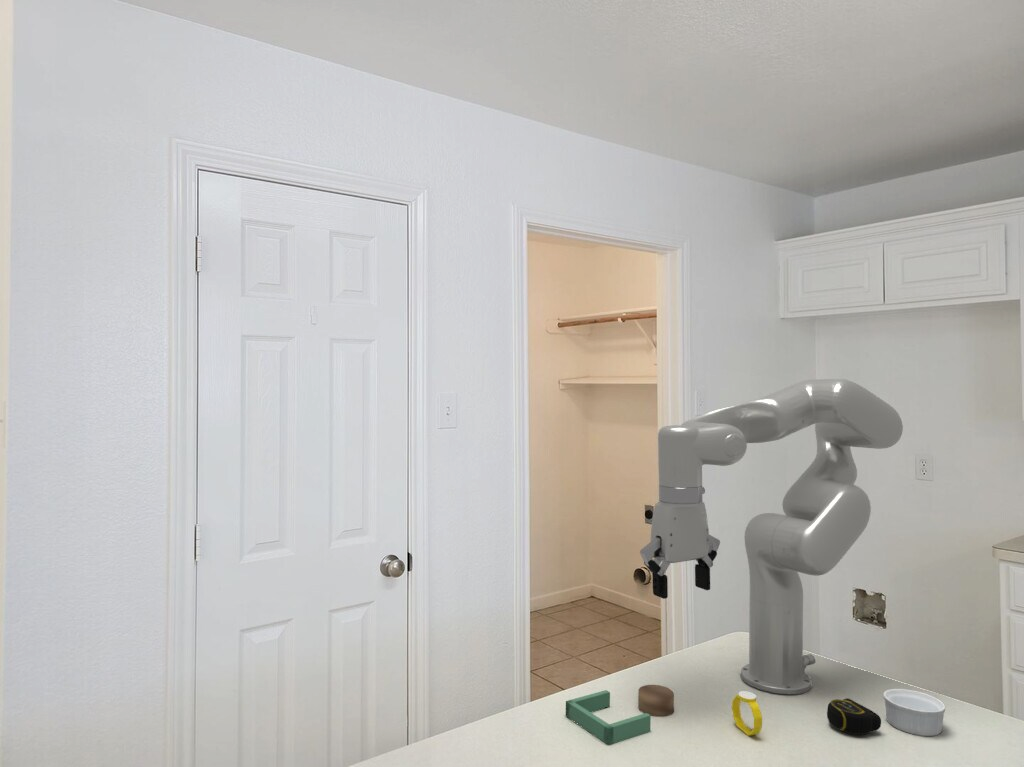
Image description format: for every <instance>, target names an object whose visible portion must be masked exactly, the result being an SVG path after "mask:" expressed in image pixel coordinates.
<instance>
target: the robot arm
mask: <svg viewBox="0 0 1024 767" xmlns="http://www.w3.org/2000/svg"><path fill="white" fill-rule="evenodd" d="M812 425H814V432H815V438H816V455H815V459H813V461H812V462H811V464H810V465H809V466H808V467H807V468H806V470H805V471H804V472H803V473H802V474H801V475H800V476H799V477H798V478H797V480H796V481H795V482H794V483H793V484H792V485H791V486H790V487H789V488H788V490H787V491H786V493H785V495H784V497H783V498H782V505H781V506H782V510H783V513H784V514H780V513H774V512H771V513H770V512H767V513H766V512H764V513H760V514H758V515H755V516H753V517H752V518H751V519H750V520H749V522H748V523H747V525H746V527H745V531H744V548H745V553H746V556H747V563H748V570H749V572H748V573H749V618H748V620H749V628H748V629H749V633H748V635H749V637H748V638H749V639H748V641H749V642H748V644H749V645H748V648H749V649H748V651H749V653H748V663H747V664H745V665H743V666H742V667H741V668H740V678H741V679H742V681H743V682H744V683H746V684H747V685H749V686H751V687H753V688H755V689H758V690H761V691H763V692H764V691H765V692H767V693H772V694H773V693H774V694H778V695H780V694H781V695H798V694H799V695H800V694H803V693H806V692H808V691H809V690H811V689H812V679H811V677H810V676H809V674H807V673H805V669H806V668H807V667H809V666H811V665H814V664H815V663H816V657H815V656H814V655H813V653H807V654H803V650H804V649H803V648H804V647H803V646H804V643H803V639H804V636H803V635H804V633H803V632H804V630H803V629H804V621H803V620H804V591H803V583H802V580H801V578H800V575H799V573H801V574H805V575H808V576H809V575H810V576H815V577H817V576H823V575H826V574H827V573H829V572H831V571H832V570H833V569H834V568H835V567H836V566H838V564H839V562H840V561H841V560H842V559H843V558H844V556H845V555H846V554H847V553H848V551H849V550H850V549H851V547H853V545H854V544H855V543H856V542H857V541H858V539H859V538H860V536H861V535H862V534H863V532H865V530H866V528H867V526H868V524H869V521H870V516H871V513H872V512H871V510H872V508H871V507H872V506H871V500H870V499H869V498H870V497H869V496H868V494H867V493H866V492H865V491H864V490H863V489H862V487H860V486H857V485H855V482H856V481H857V478H858V469H857V466H856V463H855V460H854V457H853V454H852V450H851V447H853V448H862V449H863V448H866V449H877V450H882V449H888V448H892V447H893V446H895V445H896V444H897V443H898V442H899V441H900V440H901V437H902V434H903V428H904V426H903V421H902V418H901V416H900V414H899V413H898V411H897V410H896V409H895V408H894V407H893V406H892V405H890V404H889V403H887V402H886V401H884V400H883V399H882V398H880V397H879V396H877V395H876V394H874V393H872V392H871V391H870V390H868V389H867V388H865V387H863V386H862V385H859V383H856V382H854V381H851V380H848V379H844V378H835V379H834V378H832V379H831V378H829V379H807V380H803V381H799V382H796V383H794V384H792V385H790V386H787V387H784V388H782V389H780V390H777V391H775V392H773V393H770V394H768V395H766V396H763V397H760V398H757V399H754V400H749V401H744V402H741V403H739V404H734V405H731V406H728V407H723V408H719V409H716V410H713V411H708V412H706V413H703V414H701V415H698V416H696V417H693V418H691V419H688V420H686V421H685V422H683V423H682V424H681V425H679V424H678V425H677V424H676V425H665V426H663V427H661V428H660V429H659V431H658V434H657V435H658V436H657V450H658V451H657V452H658V454H657V455H658V456H657V457H658V459H657V460H658V461H657V462H658V464H657V465H658V502H657V503H655V504H654V507H653V511H652V512H653V513H652V518H651V528H650V542H649V543H647V544H646V545H645V546H644V547H642V548H641V549H640V550H639V554H640V556H641V558H642V561H643V564H644V566H646V568H648V571H649V572H650V573H652V593H653V595H654V596H656V597H658V598H661V599H663V600H664V599H668V596H669V592H668V591H669V589H668V588H669V584H668V582H669V581H668V575H666V574H665V573H666V571H667V570H668V568H669V567H670V565H671V564H674V563H675V564H677V563H683V562H689V561H696V562H697V563H696V564H695V566H694V585H695V587H696V588H699V589H702V590H704V591H710V590H711V568H712V567H713V566H714V561H715V558H716V557H717V556H718V553H717V552H718V550H719V547H720V544H721V541H720V539H719V538H717V537H715V536H713V535H711V534H710V531H709V530H710V529H709V521H708V515H707V514H708V513H707V509H706V505H705V502H703V495H704V494H705V493H706V489H705V487H704V486H703V466H704V465H709V466H711V465H712V466H720V467H726V466H731V465H734V464H736V463H738V462H740V460H741V459H743V458H744V456H745V454H746V452H747V449H748V448H747V446H748V444H761V443H767V442H768V443H770V442H774V441H779V440H781V439H784V438H785V437H788V436H790V435H792V434H794V433H796V432H799V431H801V430H802V429H803V430H804V429H805V428H808V427H811V426H812Z"/></svg>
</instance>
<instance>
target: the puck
mask: <svg viewBox="0 0 1024 767" xmlns="http://www.w3.org/2000/svg"><path fill="white" fill-rule="evenodd" d="M637 694H638V696H637V697H638V700H637V702H638V703H637V705H638V706H637V708H638V710H639V711H640V712H641V713H642V714H644V713H647V714H649V715H651V717H655V718H656V717H657V718H665V717H668V716H671V715H673V714H674V712H675V692H674V691H673V690H672V689H671V688H669V687H666V686H665V685H660V684H645V685H642V686H640V687H639V688H638V693H637Z"/></svg>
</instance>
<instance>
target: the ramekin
mask: <svg viewBox="0 0 1024 767" xmlns="http://www.w3.org/2000/svg"><path fill="white" fill-rule="evenodd" d="M883 699H884V703H885V705H884V706H885V716H886V720H887V722H888V723H889V724H890V725H891V726H893V727H894V728H895V729H898V730H900V731H901V732H905V733H906V734H907V733H908V734H911V735H914V736H921V737H933V736H934V737H935V736H937V735H940V734H941V733H942V730H943V724H944V713H945V711H946V705H945V704H944V702H942V700H940V699H938V698H937V697H934V696H933V695H931V694H928V693H924V692H922V691H916V690H912V689H907V688H906V689H905V688H892V689H887V690H885V691H884V692H883Z"/></svg>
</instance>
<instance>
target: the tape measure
mask: <svg viewBox="0 0 1024 767" xmlns="http://www.w3.org/2000/svg"><path fill="white" fill-rule="evenodd" d="M826 711H827V712H826V716H827V720H828V722H829V723H830V724H831V725H832V726H833V727H834V728H836V729H837V730H840V731H841V732H842V731H843V732H845V733H847V734H852V735H867V734H869V733H871V732H875V731H878V730H880V729H881V727H882V726H881V725H882V719H881V717H880V715H879V714H877V713H876V712H875V711H873V710H871V709H869V708H868V707H866V706H864V705H863V704H861V703H859V702H856V701H854V700H853V699H850V698H843V699H839V698H838V699H837V698H836V699H832V700H831V701H830V702H828V704H827V710H826Z"/></svg>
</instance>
